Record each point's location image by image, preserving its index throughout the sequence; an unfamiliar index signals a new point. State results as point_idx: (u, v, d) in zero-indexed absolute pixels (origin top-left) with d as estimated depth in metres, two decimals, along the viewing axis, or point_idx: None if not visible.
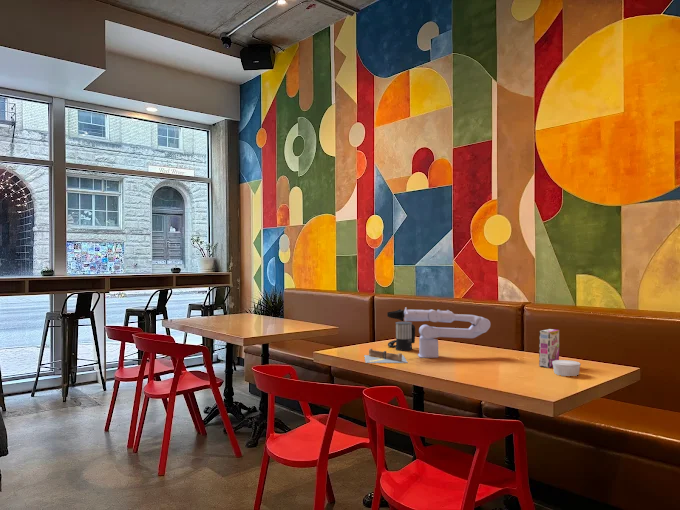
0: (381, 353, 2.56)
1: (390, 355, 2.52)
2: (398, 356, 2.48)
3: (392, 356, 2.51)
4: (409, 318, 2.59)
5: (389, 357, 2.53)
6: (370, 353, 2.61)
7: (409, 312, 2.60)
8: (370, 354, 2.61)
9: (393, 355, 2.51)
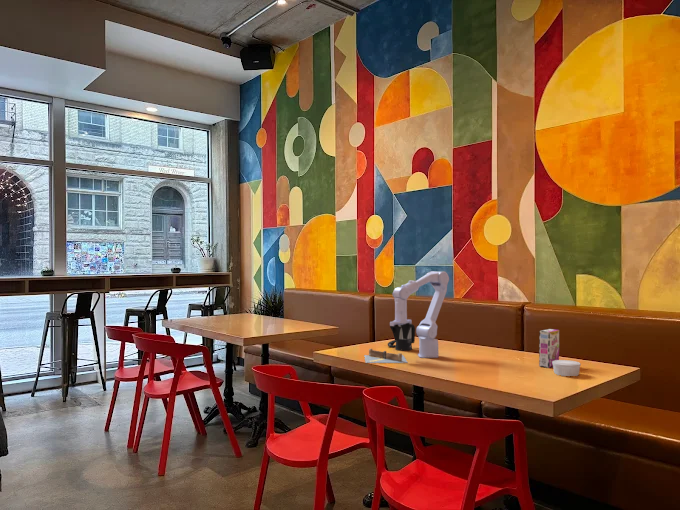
0: (381, 353, 2.56)
1: (390, 355, 2.52)
2: (398, 356, 2.48)
3: (392, 356, 2.51)
4: (400, 318, 2.51)
5: (389, 357, 2.53)
6: (370, 353, 2.61)
7: (395, 318, 2.53)
8: (370, 354, 2.61)
9: (393, 355, 2.51)
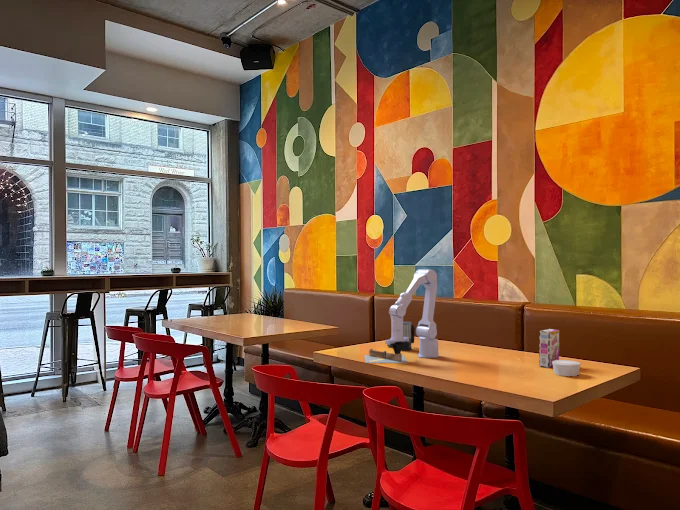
0: (381, 353, 2.56)
1: (390, 355, 2.52)
2: (398, 356, 2.48)
3: (392, 356, 2.51)
4: (396, 336, 2.49)
5: (389, 357, 2.53)
6: (370, 353, 2.61)
7: (391, 336, 2.51)
8: (370, 354, 2.61)
9: (393, 355, 2.51)
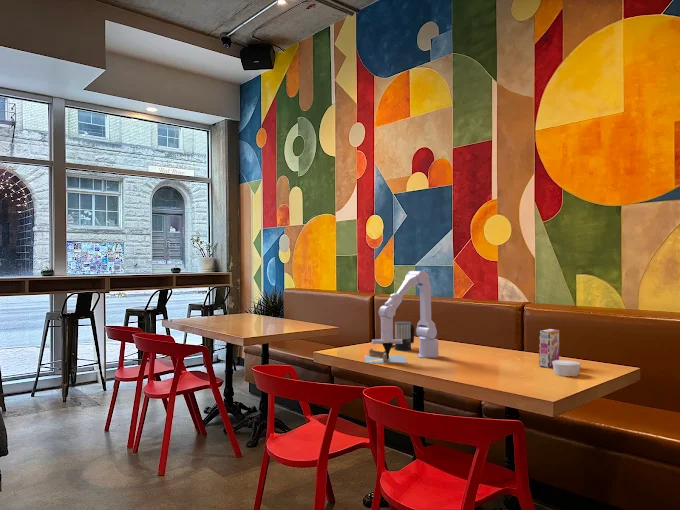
0: (381, 353, 2.56)
1: None
2: None
3: None
4: (382, 337, 2.47)
5: None
6: (370, 353, 2.61)
7: None
8: (370, 354, 2.61)
9: None
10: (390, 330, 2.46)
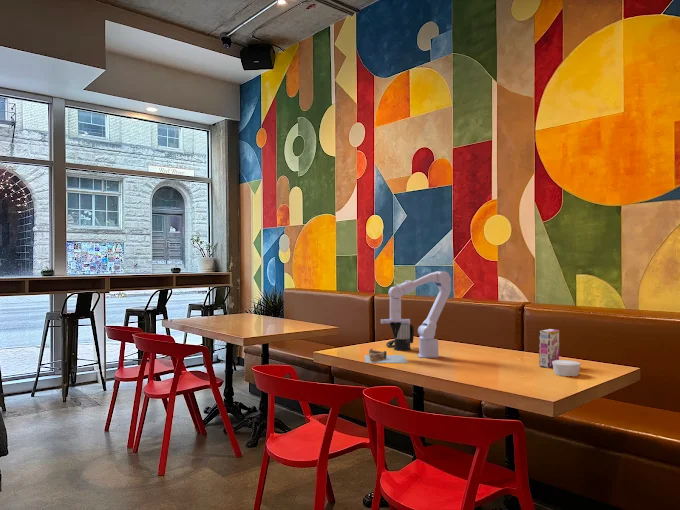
0: None
1: None
2: None
3: None
4: (390, 317, 2.58)
5: None
6: None
7: None
8: None
9: None
10: (396, 310, 2.56)
